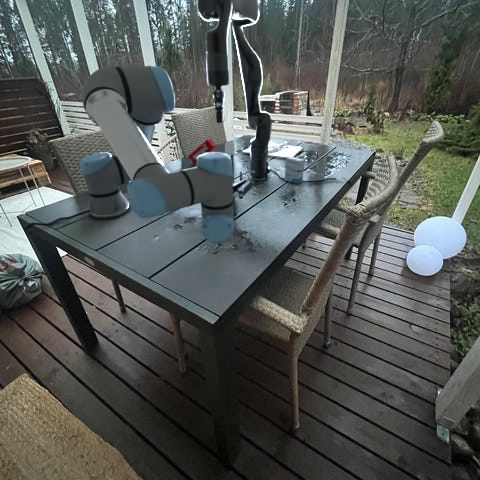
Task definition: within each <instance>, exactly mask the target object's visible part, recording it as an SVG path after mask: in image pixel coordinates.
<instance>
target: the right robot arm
mask: <svg viewBox="0 0 480 480" xmlns="http://www.w3.org/2000/svg"><path fill="white" fill-rule="evenodd" d="M196 6H197V7H196V8H197V11H198V14H199V16H200V17H201V18H202V20H204V21H206V22H212V21H213V22H214V21H217V25H216V27H215V28H212V29H210V30H208V31H206V32H205V51H206V52H205V53H206V56H205V57H206V59H205V63H206V64H205V65H206V81H207V85H208V86H211V87H214V90H213V91H212V98H213V105H214V110H215V117H216V123H217V124H222V123H223V122H224V120H223V119H224V105H225V90H224V88H223V87H224V86H229V85H230V62H229V61H230V60H229V52H228V51H229V50H228V48H229V47H228V36H229V29H230V24H231V26H232V27H231V28H232V32H233V36H234V39H235V44H236V50H237V57H238V62H239V68H240V74H241V81H242V86H243V91H244V98H245V105H246V106H245V107H246V120H247V124H248V127H249V129H251V130H253V131H255V137H254V138H251V139H250V146H251V148H250V154H249V157H250V158H249V160H250V161H249V165H250V166H249V167H250V168H249V178H250V179H249V180H252V181H256V182H257V181H265V180H268V179H269V174H270V173H271V172H272V173H273V174H275V175H276V176H277V177H278V179H279V180H284V181H285V177H281V176H280V175H279V174H278V172H277V171H274V170H273V169H271V166H269V156H268V145H269V141H270V139H271V137H272V129H273V127H272V126H273V120H272V115H271V114H270V112H267V111H262V110H261V105H260V104H261V103H260V95H261V91H262V86H263V80H264V79H263V68H262V62H261V59H260V58H259V56H258V54H257V53H256V51H254V50H253V48H252V46H250V44H249V42H248V41H247V39H246V35H245V32H244V29H243V27H247V26H252V25H254V24H256V23H257V22H258V20H259V17H260V8H259V1H258V0H197V1H196ZM336 178H337V177H328V178H323V179H324V180H323V179H316V180H317V181H316V180H304V179H303V180H302V182H301V183H319V182H326V181H329V180H333V181H334V180H335V181H336V180H337V179H336ZM342 178H343V179H346V178H344V177H342ZM346 182H347V183H349V184H351V181H350V180H349V181H346Z"/></svg>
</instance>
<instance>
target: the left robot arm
mask: <svg viewBox="0 0 480 480" xmlns="http://www.w3.org/2000/svg"><path fill="white" fill-rule="evenodd" d="M81 102H82V106H83V109H84V112H85V113H86V115H87V116H88V118H89V120H90V121H91V122H92V123H93V124H95V125H96V126H98V127H99V128H100V130H101V132H102V134H103V135H104V137H105V139H106V141H107V142H108V144H109V145H110V147H111V149H112V151H113V152H114V155H112V154H111V153H110V152H108V151H103V152H96V153H92V154H89V155H87V156H85V157H83V158H82V159H81V160H80V162H79V167H80V170H81V175H82V176H83V179H84V182H85V185H86V188H87V192H88V195H89V209H87V210H84V211H81V212H77V213H76V214H73V215H70V216H63V217H59V218H56V219H54V220H53V221H51V222H45V223H44V222H31V223H29V224H28V225H26V227H25V228H26V229H29V228H31V227H33V226H43V227H46V226H47V227H48V226H52V225H55V224H56V223H58V222H60V221H64V220H66V221H67V220H71V219H73V218H76V217H79V216H82V215H84V214H87V213H90V217H92V218H94V219H97V220H109V219H116V218H118V217H121V216H124V215H125V214H126V213H128V212H129V211H130V204H131V207H132V209H133V211H134V213H135V215H137V216H138V217H139V218H141V219H149V218H153V217H158V216H163V215H165V214H167V213H172V212H174V211H178V210H181V209H185V208H188V207H191V206H195V205H198V204H200V209H201V222H200V228H201V229H200V232H201V234H202V236H203V238H204V239H205V240H206V241H208V242H209V243H213V244H223V243H225V242H228V241H229V240H230V239H231V238H232V236H233V235H234V232H235V231H234V230H235V220H234V217H235V215H234V214H233V198H234V199H235V197H237V198H238V199H239V200H243V199H244V196H245V195H246V194H247V193H249V192H250V191H251V190H252V189H253V180H252V179H247V177H246V176H243V172H242V171H239V180H238V181H236V182H234V184H233V168H232V160H231V158H230V156H229V155H227V154H228V153H224V152H220V151H214V152H208V153H203V154H201V155H199V156H198V158H197V163H195V165H196V166H194V167H190V168H184V169H180V170H175V171H169V169H168V168H167V167H166V166H165V165H164V163H163V161H162V160H161V159H160V158H161V157H159V155H158V154H157V152H156V151H155V149H154V148H153V146H152V143H153V140H154V139H153V138H154V134H155V129H156V125H158V124H160V123H161V122H162V120H163V118H164V114H165V113H167V114H168V113H171V112H173V111H174V110H175V107H176V97H175V91H174V87H173V83H172V81H171V78H170V76H169V74H168V72H167V71H166V70H165V69H164V67H161V66H153V65H135V66H133V65H132V66H131V65H130V66H129V65H128V66H114V65H113V66H112V65H111V66H104V67H101V68H98V69H96V70H94V71H93V72H92V73H91V74H89V76H88V77H87V78H86V81H85V82H84V85H83V87H82V92H81ZM122 185H127V186H126V191H127V196H128V199H129V200H128V199H127V198H126V197H125V196H124V194H123V193H122V191H121V188H120V186H122ZM129 203H130V204H129Z"/></svg>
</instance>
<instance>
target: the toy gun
mask: <svg viewBox="0 0 480 480" xmlns="http://www.w3.org/2000/svg"><path fill="white" fill-rule="evenodd" d="M216 147H217V145H216V143H215V142H214V141H213V140H212V139H211V138H208V139H206V140H205V141H204V142H203V143H201V144H200V145H199V146H198V147H197V148H196V149H194V151H192V152H191V153H190V154H188V159H189V160H190V161H191V162H192V163H193V164H196V163H197V158H198V156H199V155H201V154H203V153H208V152H215V149H216Z"/></svg>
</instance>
